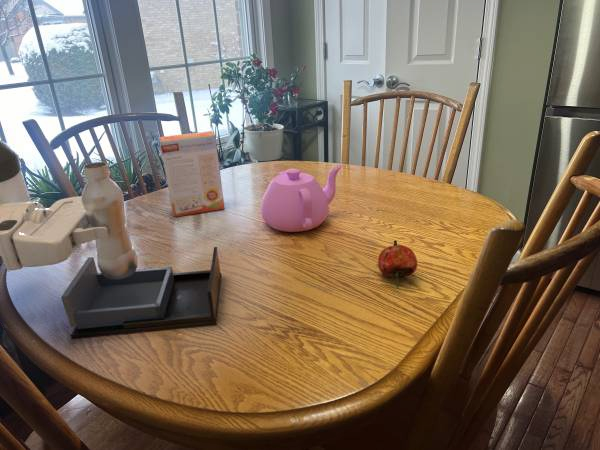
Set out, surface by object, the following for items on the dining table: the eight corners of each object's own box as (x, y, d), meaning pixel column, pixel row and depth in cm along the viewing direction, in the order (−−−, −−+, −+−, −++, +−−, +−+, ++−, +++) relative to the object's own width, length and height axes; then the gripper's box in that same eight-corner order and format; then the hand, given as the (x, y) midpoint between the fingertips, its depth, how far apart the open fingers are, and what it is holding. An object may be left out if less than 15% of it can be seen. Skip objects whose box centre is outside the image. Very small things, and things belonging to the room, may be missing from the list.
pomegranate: (417, 296, 84) (419, 248, 88) (414, 282, 78) (416, 232, 82) (379, 294, 86) (382, 248, 91) (373, 280, 80) (377, 232, 85)
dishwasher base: (71, 339, 72) (60, 305, 69) (100, 286, 87) (92, 256, 84) (216, 325, 74) (211, 291, 71) (221, 276, 89) (217, 246, 86)
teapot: (361, 229, 106) (363, 175, 100) (276, 246, 100) (272, 189, 94) (325, 199, 125) (325, 152, 119) (252, 212, 118) (247, 162, 113)
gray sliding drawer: (71, 329, 73) (61, 296, 70) (96, 287, 85) (88, 257, 82) (162, 321, 74) (155, 288, 72) (174, 280, 86) (169, 250, 84)
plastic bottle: (108, 288, 73) (79, 174, 65) (96, 273, 78) (68, 165, 70) (145, 275, 77) (122, 165, 68) (132, 261, 82) (109, 157, 73)
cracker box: (221, 202, 126) (212, 130, 117) (225, 209, 121) (216, 134, 112) (171, 209, 122) (158, 135, 113) (173, 217, 117) (159, 140, 108)
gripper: (57, 220, 83) (132, 215, 84) (3, 276, 64) (100, 268, 65) (48, 189, 80) (125, 184, 81) (-12, 238, 62) (90, 230, 63)
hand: (114, 222), depth 73 cm, fingers closed on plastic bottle, 5 cm apart
